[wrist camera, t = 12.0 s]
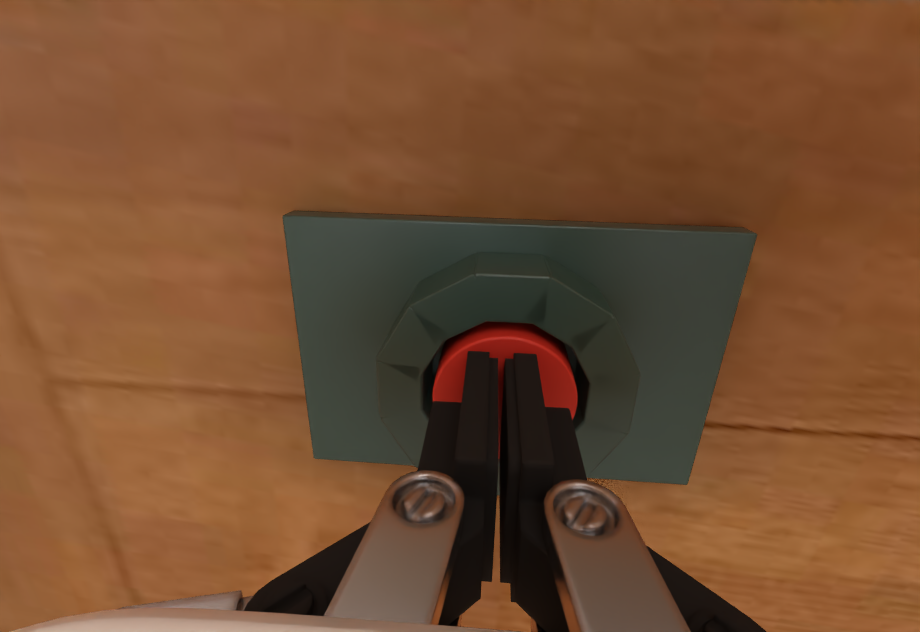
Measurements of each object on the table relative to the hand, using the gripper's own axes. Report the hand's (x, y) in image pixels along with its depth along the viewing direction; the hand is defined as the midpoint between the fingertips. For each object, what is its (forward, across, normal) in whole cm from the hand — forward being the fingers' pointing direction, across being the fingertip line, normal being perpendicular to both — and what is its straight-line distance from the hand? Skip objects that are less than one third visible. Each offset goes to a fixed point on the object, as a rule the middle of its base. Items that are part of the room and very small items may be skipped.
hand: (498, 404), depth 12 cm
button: (+2, 0, 0) cm, 2 cm away
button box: (+3, 0, 0) cm, 3 cm away
